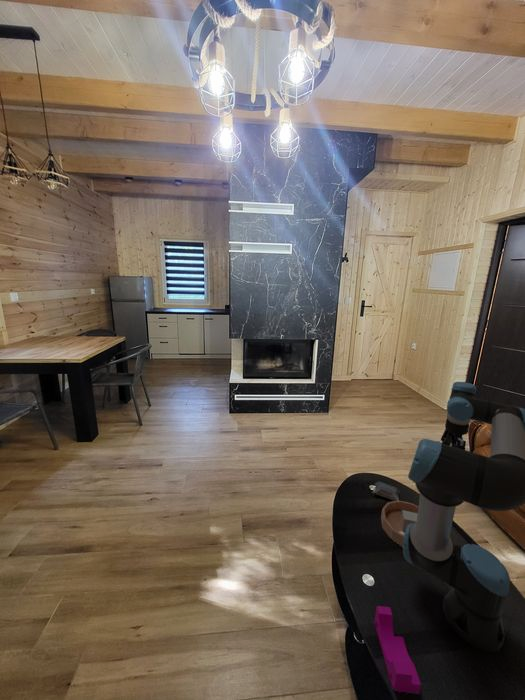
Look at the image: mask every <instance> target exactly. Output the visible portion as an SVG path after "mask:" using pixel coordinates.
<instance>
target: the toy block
mask: <svg viewBox="0 0 525 700" xmlns="http://www.w3.org/2000/svg"><path fill="white" fill-rule="evenodd" d="M375 609H376V610H375V617H374V626H375V629H376V633H377V636H378V639H379V640H378V641H379V645H380V647H381V650H382V654H383V658H384V661H385V666H386V669H387V673H388V676H389V680H390V683H392V684H391V687H392V686H393V688H394V689H395V690H398V691H402V692H415V693H419V694H420V692H421V687H422V683H421V679H420V677H419V676H418V672H417V669H416V667H415V664H414V662H413V661H412V659H411V657H410V655H409V653H408V650H407V647H406V644H405V640H404V636H395V633H394V628H393V627H394V626H393V613H392V610H391V607H390V606H381V605H376V608H375ZM393 688H392V689H393Z"/></svg>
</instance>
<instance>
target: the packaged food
mask: <svg viewBox="0 0 525 700" xmlns="http://www.w3.org/2000/svg"><path fill="white" fill-rule="evenodd" d="M374 486H375V487H376V488H375V489H374V490H373V491H372V492H371V493H373V494H376V495H377V496H380V497H383V498H386V499H388V500H391V501H392V502H393V501H400V499H399V498H400V497H399V494H400V493H401V491H400V490H399V488H397V487H396V486H393V485H390V484H388V483H385V482H383V481H376V482H375V483H374Z"/></svg>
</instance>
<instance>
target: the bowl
mask: <svg viewBox="0 0 525 700" xmlns="http://www.w3.org/2000/svg"><path fill="white" fill-rule="evenodd" d="M418 506H419V505H417V504H414V503H412V502H407V501H403V500H399V501H393V500H392V501H388V502H387V503H385V505H384V506H383V507H382V508H381V509H382V510H381V516H380V520H381V526H382V529H383V531H384V532H385V534H386V535H387V536H388V537H389V539H390V538H391V539H392V540H393V541H392V540H391V539H390V540H391V541H392V542H394V543H395V542H396V543H395V544H397V545H398V544H399V546H400V547H402V548H403V544H404V543H403V542H404V535H405V531H402V527H401V522H400V521H401V515H402V510H405V511H409V512H413V513H417V514H418Z"/></svg>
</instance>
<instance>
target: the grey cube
mask: <svg viewBox="0 0 525 700" xmlns="http://www.w3.org/2000/svg"><path fill="white" fill-rule="evenodd" d="M417 515H418V514H417V513H413V512H409V511H405V510H402V515H401V521H400V522H401V527H402V531H406V528H407V526H408V524H410V523H413V524H415V523H416V522H417Z"/></svg>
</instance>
